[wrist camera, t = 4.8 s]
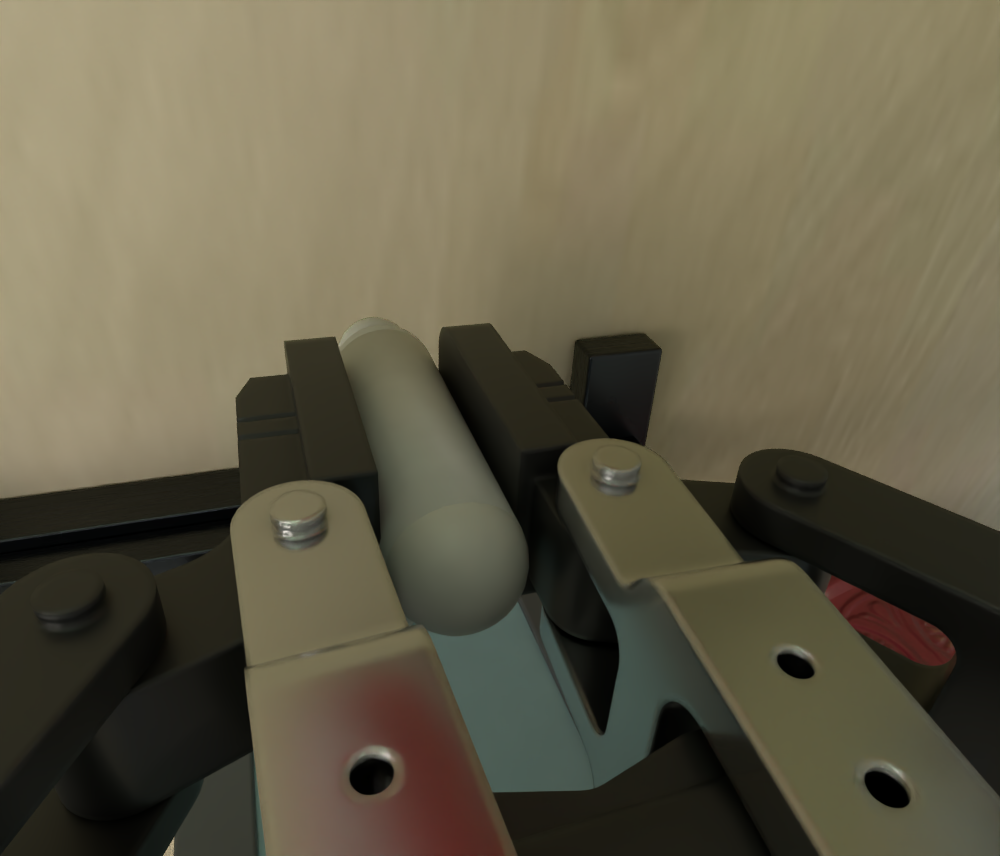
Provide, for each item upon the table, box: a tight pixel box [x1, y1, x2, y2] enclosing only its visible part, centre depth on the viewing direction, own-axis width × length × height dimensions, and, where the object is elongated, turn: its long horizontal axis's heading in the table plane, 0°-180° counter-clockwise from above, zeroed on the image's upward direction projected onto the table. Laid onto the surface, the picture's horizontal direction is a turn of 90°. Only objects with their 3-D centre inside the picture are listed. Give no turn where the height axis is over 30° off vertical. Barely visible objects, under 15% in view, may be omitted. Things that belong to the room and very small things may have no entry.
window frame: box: [0, 334, 662, 595], centre depth 13 cm, size 19×8×14 cm, turn 87°
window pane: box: [174, 317, 593, 856], centre depth 11 cm, size 8×7×11 cm
